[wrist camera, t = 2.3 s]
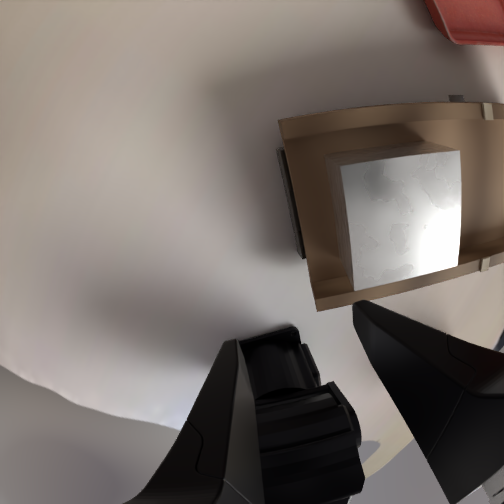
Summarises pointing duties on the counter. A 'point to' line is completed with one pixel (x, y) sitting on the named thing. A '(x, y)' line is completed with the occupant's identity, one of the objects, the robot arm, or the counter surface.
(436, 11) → the plant saucer
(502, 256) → the wooden tray
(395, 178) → the steel block
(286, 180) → the stand
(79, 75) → the counter surface
